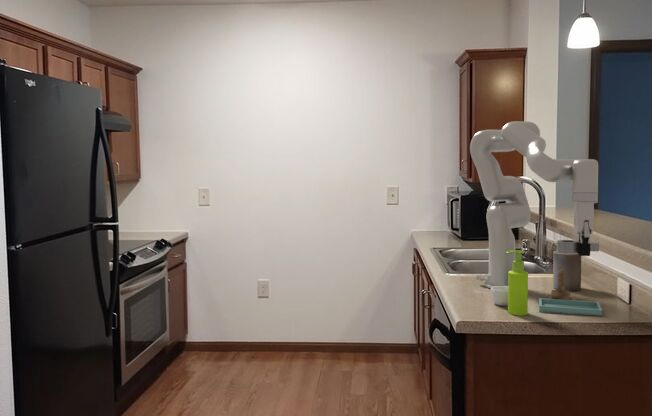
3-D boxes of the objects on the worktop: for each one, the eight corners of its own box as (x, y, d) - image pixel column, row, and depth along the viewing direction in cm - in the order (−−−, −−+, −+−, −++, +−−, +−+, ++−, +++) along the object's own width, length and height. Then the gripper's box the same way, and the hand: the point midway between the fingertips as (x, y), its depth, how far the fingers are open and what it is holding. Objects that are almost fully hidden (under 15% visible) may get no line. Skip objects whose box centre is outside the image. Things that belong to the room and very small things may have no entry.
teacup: (519, 306, 187) (519, 290, 186) (497, 308, 185) (497, 291, 185) (504, 299, 197) (504, 283, 196) (483, 300, 195) (483, 285, 195)
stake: (548, 303, 189) (549, 271, 188) (547, 298, 197) (548, 266, 196) (574, 305, 187) (575, 272, 186) (572, 299, 194) (573, 268, 193)
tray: (539, 311, 180) (539, 305, 180) (538, 303, 190) (539, 298, 190) (601, 316, 174) (602, 310, 174) (598, 307, 184) (598, 301, 183)
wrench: (558, 253, 182) (558, 242, 181) (556, 250, 188) (556, 239, 188) (599, 254, 178) (599, 242, 178) (597, 250, 184) (597, 240, 184)
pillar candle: (583, 287, 212) (583, 247, 211) (578, 292, 204) (578, 251, 203) (555, 284, 217) (556, 245, 216) (550, 289, 209) (550, 249, 208)
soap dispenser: (501, 310, 182) (502, 249, 180) (522, 310, 182) (523, 248, 180) (509, 316, 176) (510, 252, 174) (530, 315, 176) (531, 251, 175)
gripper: (569, 196, 190) (568, 250, 191) (574, 199, 174) (573, 258, 176) (594, 196, 187) (593, 251, 189) (601, 199, 172) (600, 259, 174)
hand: (583, 254), depth 182 cm, fingers closed on wrench, 2 cm apart
